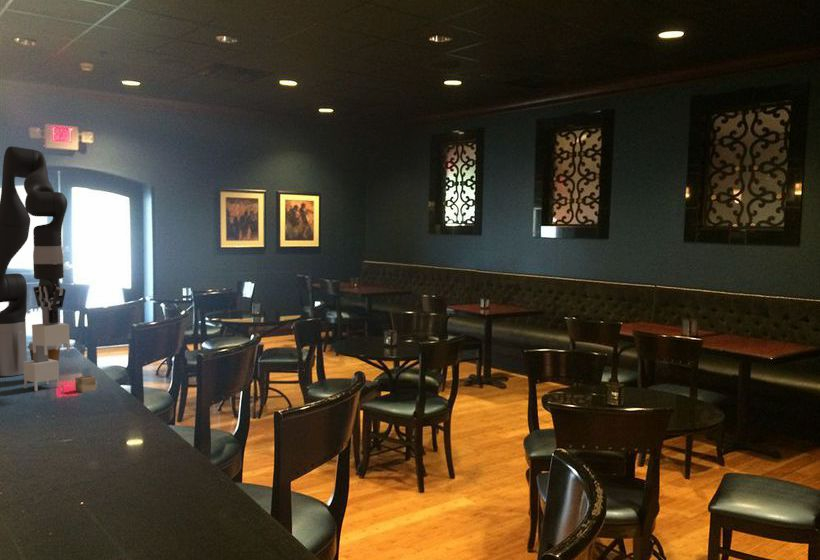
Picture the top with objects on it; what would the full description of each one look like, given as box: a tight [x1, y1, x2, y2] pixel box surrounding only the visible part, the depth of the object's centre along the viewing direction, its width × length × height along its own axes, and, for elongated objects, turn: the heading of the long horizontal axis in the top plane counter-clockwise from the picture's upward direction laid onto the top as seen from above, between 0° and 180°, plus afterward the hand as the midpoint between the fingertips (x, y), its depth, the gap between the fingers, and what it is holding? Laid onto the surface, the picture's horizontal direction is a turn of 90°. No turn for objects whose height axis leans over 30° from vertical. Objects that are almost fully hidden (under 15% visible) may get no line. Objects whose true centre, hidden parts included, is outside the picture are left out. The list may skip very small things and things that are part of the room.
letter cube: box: [74, 374, 97, 393], centre depth 204 cm, size 4×4×4 cm
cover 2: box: [23, 345, 60, 392], centre depth 207 cm, size 7×7×13 cm
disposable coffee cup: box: [27, 340, 62, 361], centre depth 220 cm, size 10×10×12 cm
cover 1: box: [31, 307, 71, 355], centre depth 197 cm, size 7×7×13 cm
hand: (50, 322), depth 197 cm, fingers closed on cover 1, 3 cm apart
